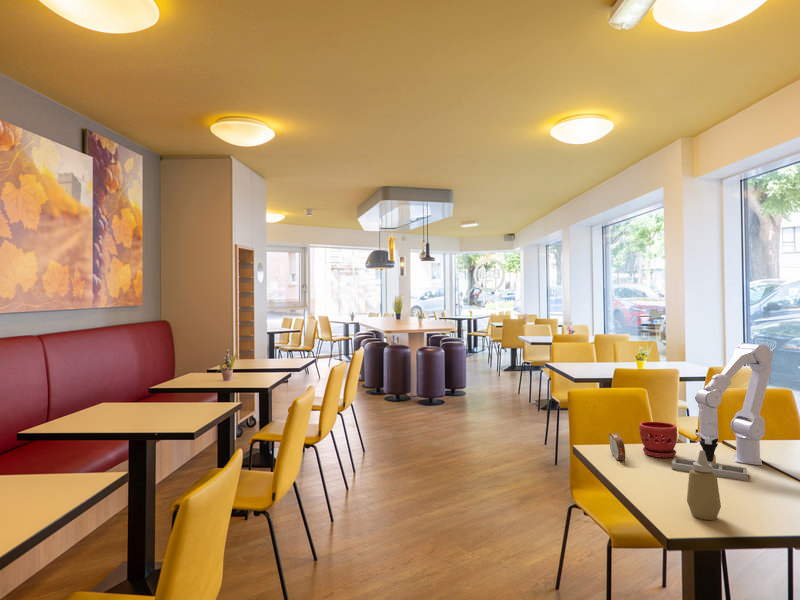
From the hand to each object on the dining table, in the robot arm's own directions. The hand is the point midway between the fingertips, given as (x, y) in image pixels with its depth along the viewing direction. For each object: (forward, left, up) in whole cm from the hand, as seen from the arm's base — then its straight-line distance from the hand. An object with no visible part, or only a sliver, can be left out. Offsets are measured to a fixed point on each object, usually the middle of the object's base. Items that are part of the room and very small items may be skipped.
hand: (709, 459), depth 179 cm
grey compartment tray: (+11, 0, -1) cm, 11 cm away
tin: (+10, -30, -2) cm, 32 cm away
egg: (0, 0, -2) cm, 2 cm away
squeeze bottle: (+55, 0, -2) cm, 55 cm away
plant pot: (-2, -17, -2) cm, 17 cm away
